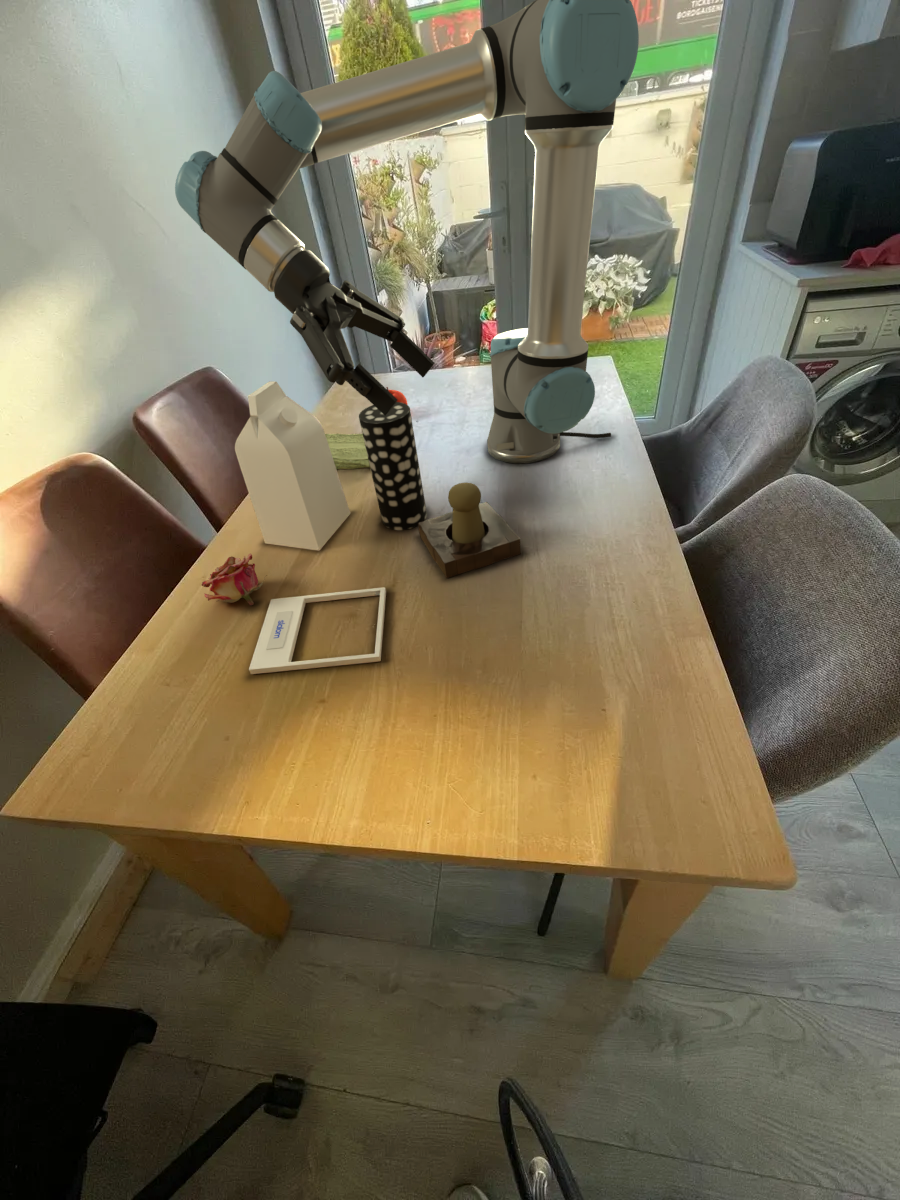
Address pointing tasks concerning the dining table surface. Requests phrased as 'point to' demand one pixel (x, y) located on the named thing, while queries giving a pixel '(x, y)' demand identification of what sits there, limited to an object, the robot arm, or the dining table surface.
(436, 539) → the ring plate
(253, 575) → the flower
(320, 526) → the milk
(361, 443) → the washcloth
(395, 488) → the spotted tube
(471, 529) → the wooden peg doll
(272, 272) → the robot arm
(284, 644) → the photo frame
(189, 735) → the dining table surface
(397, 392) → the apple
